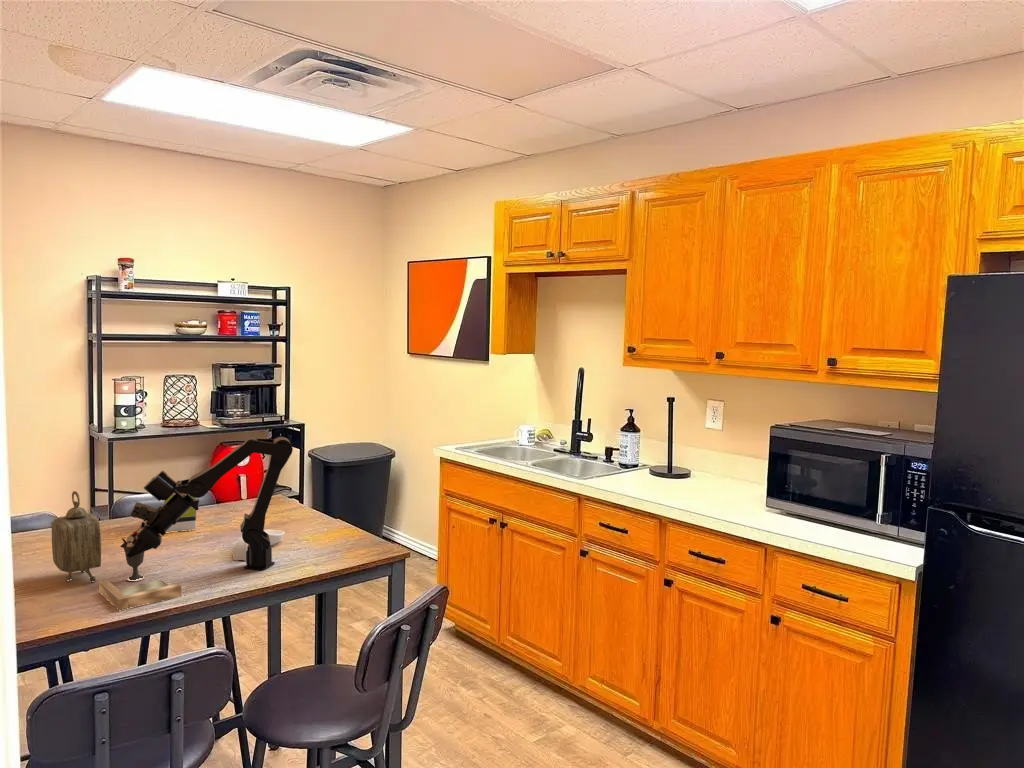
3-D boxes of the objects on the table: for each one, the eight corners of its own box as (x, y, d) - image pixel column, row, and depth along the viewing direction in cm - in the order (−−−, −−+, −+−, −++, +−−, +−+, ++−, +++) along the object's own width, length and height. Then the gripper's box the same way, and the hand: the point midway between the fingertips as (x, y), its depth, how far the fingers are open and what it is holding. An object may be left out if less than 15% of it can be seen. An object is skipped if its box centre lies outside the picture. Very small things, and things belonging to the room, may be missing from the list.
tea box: (165, 522, 261) (164, 482, 259) (195, 520, 265) (194, 480, 264) (164, 534, 247) (163, 491, 246) (196, 531, 251) (196, 489, 250)
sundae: (154, 576, 206) (152, 524, 205) (136, 584, 200) (134, 531, 199) (135, 573, 208) (133, 522, 207) (116, 581, 202) (115, 528, 200)
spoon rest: (256, 538, 245) (256, 517, 244) (290, 539, 244) (290, 519, 243) (222, 561, 221) (221, 538, 221) (259, 562, 220) (259, 539, 220)
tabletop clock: (102, 582, 201) (99, 494, 198) (64, 590, 194) (61, 499, 192) (88, 569, 211) (85, 485, 209) (52, 576, 205) (49, 489, 203)
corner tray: (158, 579, 204) (158, 569, 204) (181, 596, 192) (180, 585, 192) (99, 592, 193) (98, 581, 193) (119, 611, 181) (118, 599, 181)
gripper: (152, 485, 212) (110, 525, 209) (145, 500, 195) (100, 544, 192) (182, 510, 216) (141, 550, 213) (178, 526, 198) (134, 570, 195)
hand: (129, 552), depth 203 cm, fingers closed on sundae, 6 cm apart
